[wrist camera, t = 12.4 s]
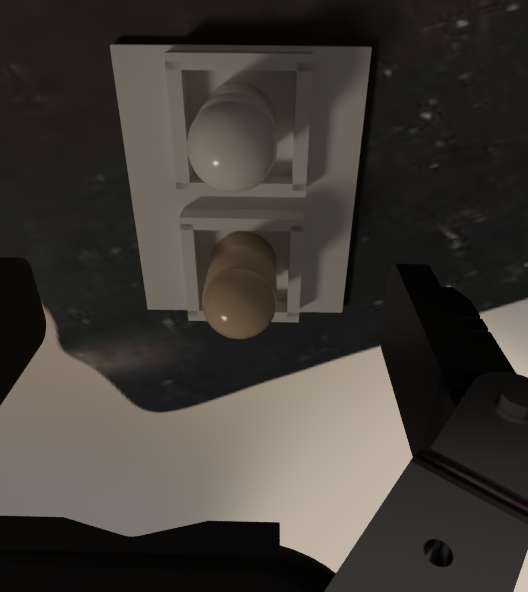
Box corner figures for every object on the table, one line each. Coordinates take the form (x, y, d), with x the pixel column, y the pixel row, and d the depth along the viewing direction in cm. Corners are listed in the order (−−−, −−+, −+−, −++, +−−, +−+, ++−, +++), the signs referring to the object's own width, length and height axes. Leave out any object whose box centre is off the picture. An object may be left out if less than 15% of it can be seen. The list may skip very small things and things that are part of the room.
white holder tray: (369, 46, 26) (377, 50, 24) (341, 307, 35) (344, 325, 33) (112, 43, 26) (100, 47, 25) (149, 304, 35) (142, 322, 34)
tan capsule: (277, 232, 31) (277, 289, 25) (275, 289, 34) (276, 355, 28) (209, 231, 32) (194, 288, 25) (212, 289, 34) (199, 353, 28)
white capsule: (277, 82, 27) (279, 109, 21) (275, 161, 29) (276, 206, 23) (198, 81, 27) (176, 108, 21) (202, 160, 29) (184, 205, 23)
